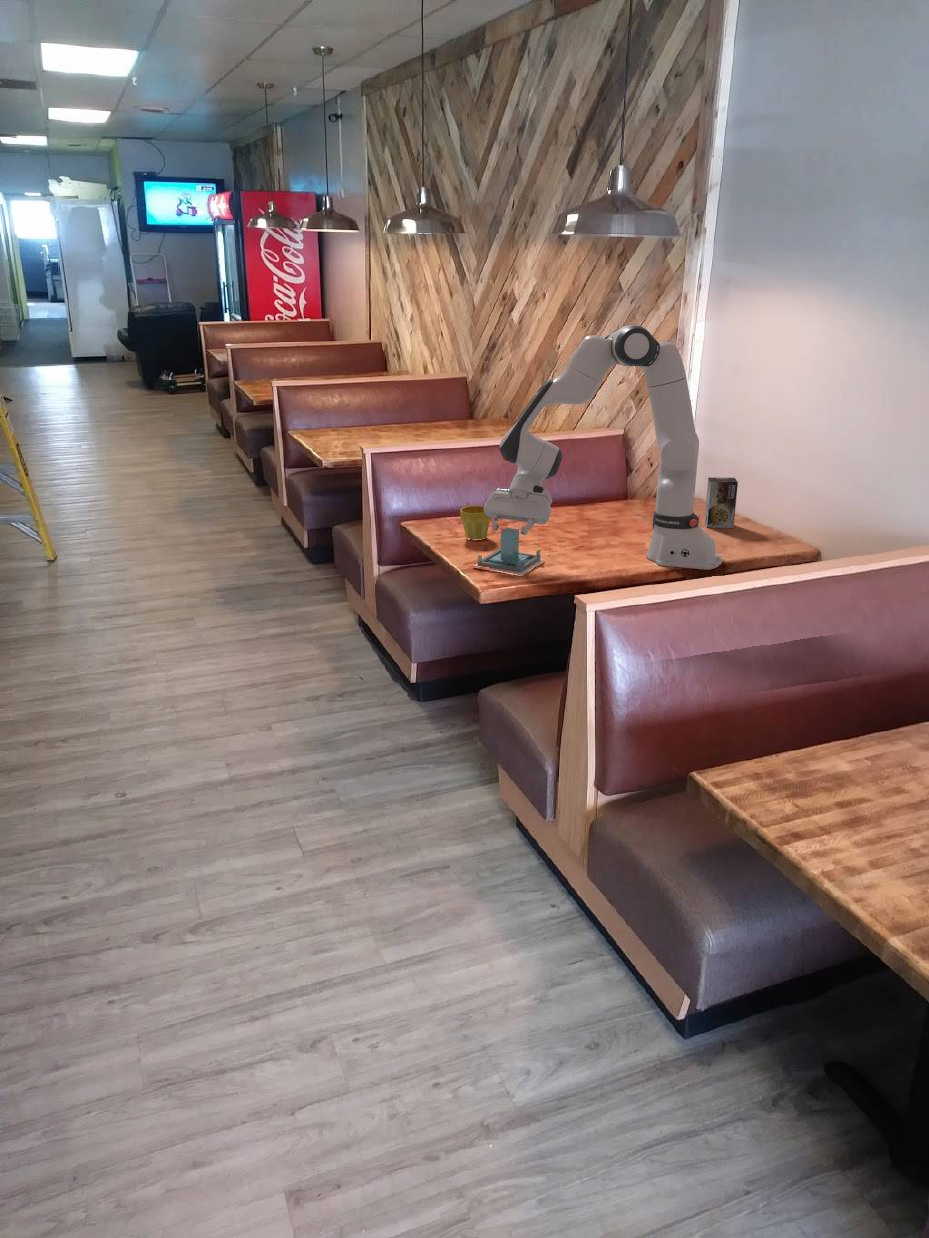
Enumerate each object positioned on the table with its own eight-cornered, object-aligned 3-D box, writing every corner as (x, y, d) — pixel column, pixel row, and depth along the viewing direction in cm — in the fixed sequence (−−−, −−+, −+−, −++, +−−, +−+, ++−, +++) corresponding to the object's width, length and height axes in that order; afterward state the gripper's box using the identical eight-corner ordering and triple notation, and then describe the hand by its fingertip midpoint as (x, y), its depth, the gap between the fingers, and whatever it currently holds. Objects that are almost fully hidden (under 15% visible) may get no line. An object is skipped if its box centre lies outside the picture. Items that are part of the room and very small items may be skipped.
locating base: (544, 561, 274) (545, 549, 272) (521, 577, 260) (522, 563, 259) (497, 554, 281) (497, 541, 279) (472, 568, 268) (472, 555, 266)
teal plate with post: (529, 560, 272) (530, 528, 268) (516, 569, 265) (517, 536, 261) (502, 556, 276) (503, 524, 272) (489, 564, 269) (489, 532, 265)
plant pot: (453, 537, 297) (453, 508, 294) (477, 532, 304) (477, 503, 300) (474, 544, 290) (474, 515, 286) (498, 538, 296) (498, 509, 293)
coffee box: (730, 523, 312) (735, 477, 306) (733, 528, 306) (738, 481, 300) (703, 522, 313) (707, 476, 307) (706, 528, 307) (710, 481, 301)
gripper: (489, 482, 273) (474, 521, 268) (551, 489, 263) (537, 530, 259) (496, 493, 278) (481, 532, 273) (557, 501, 269) (543, 541, 264)
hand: (508, 531), depth 266 cm, fingers open, 8 cm apart
